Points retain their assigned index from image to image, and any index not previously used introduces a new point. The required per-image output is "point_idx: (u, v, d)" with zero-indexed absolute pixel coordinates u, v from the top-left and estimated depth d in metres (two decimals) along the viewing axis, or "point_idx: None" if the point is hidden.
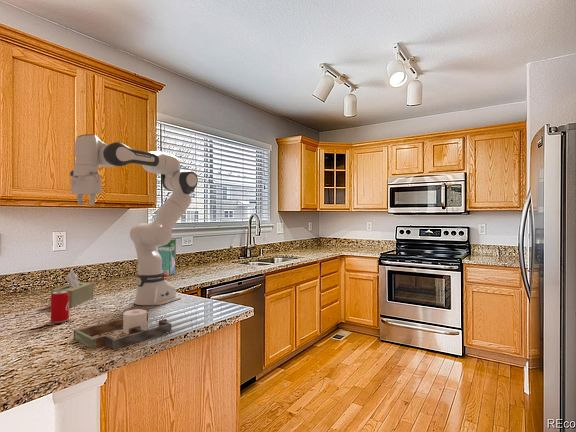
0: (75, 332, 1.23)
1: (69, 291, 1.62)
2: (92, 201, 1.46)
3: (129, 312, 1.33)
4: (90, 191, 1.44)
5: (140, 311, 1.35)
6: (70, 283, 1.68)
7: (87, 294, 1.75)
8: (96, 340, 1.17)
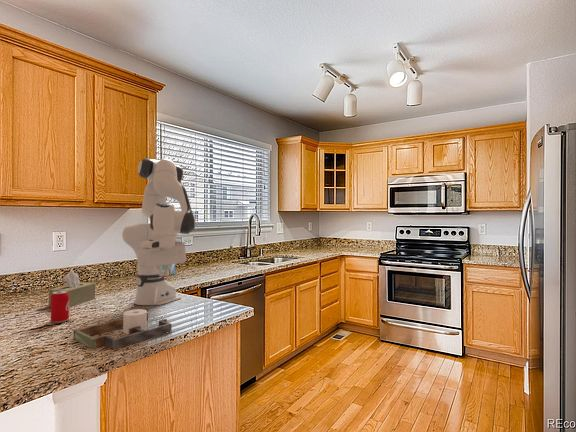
0: (75, 332, 1.23)
1: None
2: None
3: (129, 312, 1.33)
4: (181, 261, 1.49)
5: (140, 311, 1.35)
6: (68, 283, 1.68)
7: (87, 295, 1.74)
8: (96, 340, 1.17)
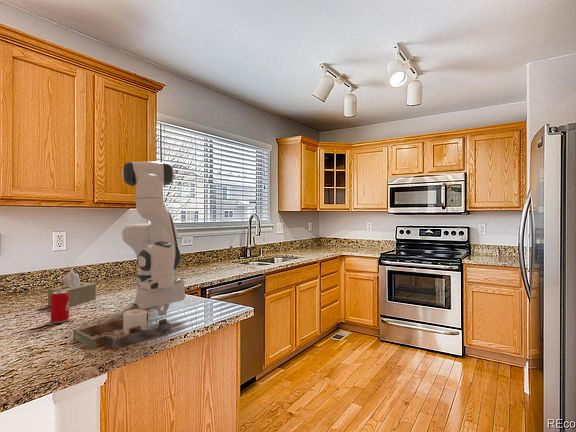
0: (75, 332, 1.23)
1: None
2: None
3: (129, 312, 1.33)
4: (180, 299, 1.49)
5: (140, 311, 1.35)
6: (67, 283, 1.68)
7: (87, 295, 1.74)
8: (96, 340, 1.17)
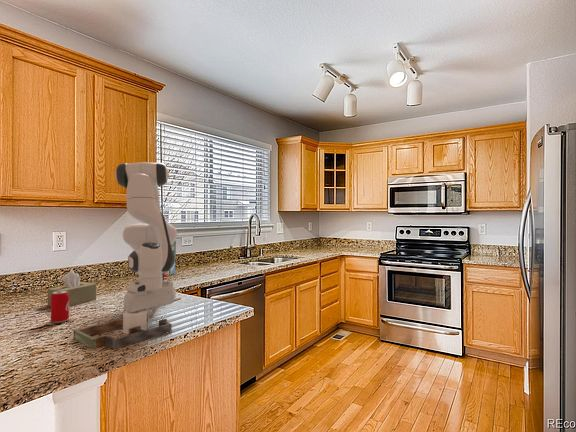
0: (75, 332, 1.23)
1: None
2: None
3: None
4: (169, 301, 1.45)
5: (140, 311, 1.35)
6: (66, 283, 1.68)
7: (86, 295, 1.73)
8: (96, 340, 1.17)
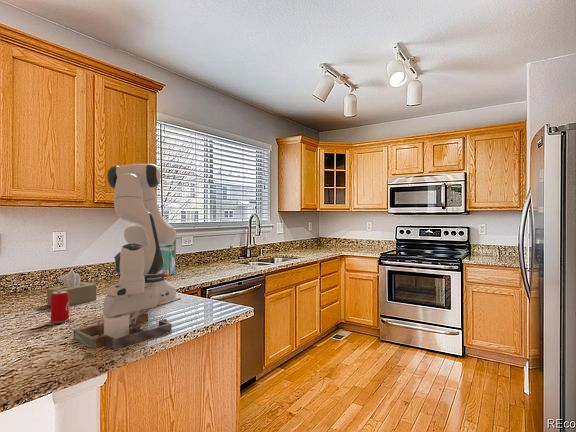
0: (75, 332, 1.23)
1: None
2: None
3: (110, 317, 1.27)
4: (152, 305, 1.39)
5: (122, 315, 1.29)
6: (66, 283, 1.68)
7: (86, 296, 1.73)
8: (96, 340, 1.17)
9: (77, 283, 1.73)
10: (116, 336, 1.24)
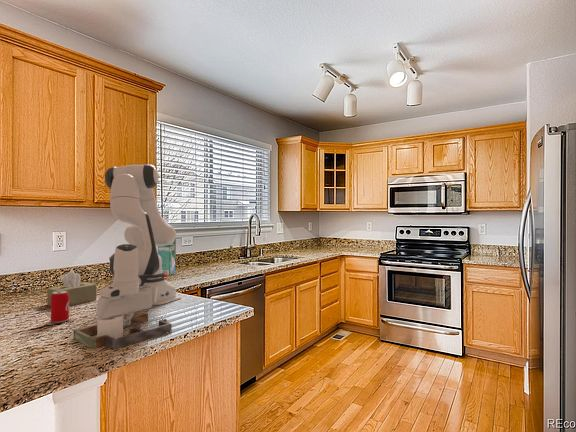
0: (75, 332, 1.23)
1: None
2: None
3: None
4: (147, 306, 1.37)
5: (115, 317, 1.27)
6: (65, 283, 1.68)
7: (85, 296, 1.72)
8: (96, 340, 1.17)
9: (77, 283, 1.73)
10: None
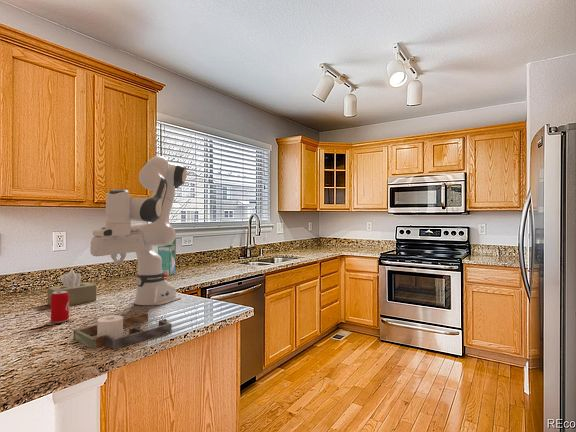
0: (75, 332, 1.23)
1: (54, 291, 1.62)
2: None
3: (103, 319, 1.25)
4: (139, 249, 1.45)
5: (115, 317, 1.27)
6: (64, 283, 1.68)
7: (84, 296, 1.72)
8: (96, 340, 1.17)
9: (77, 283, 1.73)
10: None
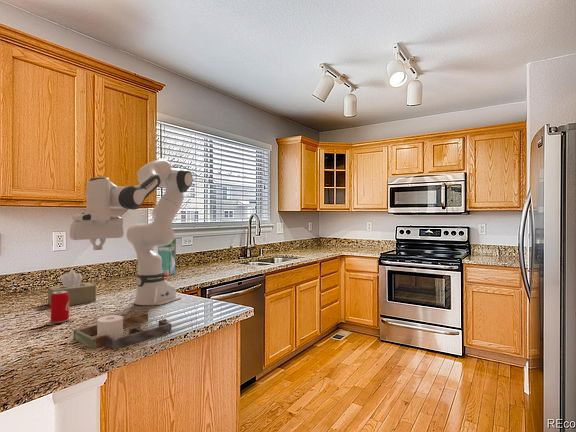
0: (75, 332, 1.23)
1: (52, 291, 1.63)
2: None
3: (103, 319, 1.25)
4: (118, 235, 1.49)
5: (115, 317, 1.27)
6: (64, 283, 1.68)
7: (83, 297, 1.71)
8: (96, 340, 1.17)
9: (77, 283, 1.72)
10: None
